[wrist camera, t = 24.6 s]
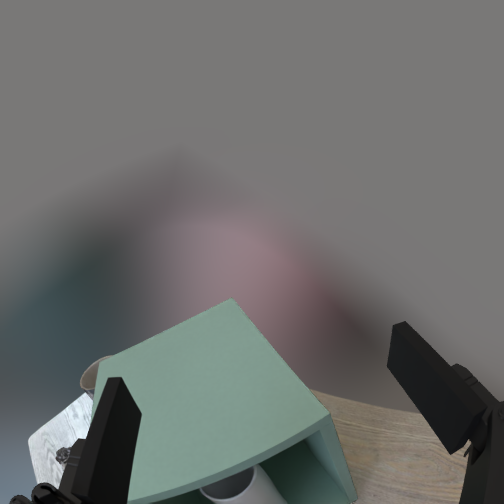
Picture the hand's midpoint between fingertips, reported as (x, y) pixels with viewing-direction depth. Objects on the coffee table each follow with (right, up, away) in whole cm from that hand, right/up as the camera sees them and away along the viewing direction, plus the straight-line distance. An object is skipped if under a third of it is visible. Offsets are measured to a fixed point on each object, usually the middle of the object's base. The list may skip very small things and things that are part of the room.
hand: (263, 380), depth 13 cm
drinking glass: (+2, -29, +15) cm, 33 cm away
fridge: (0, -29, +22) cm, 36 cm away
